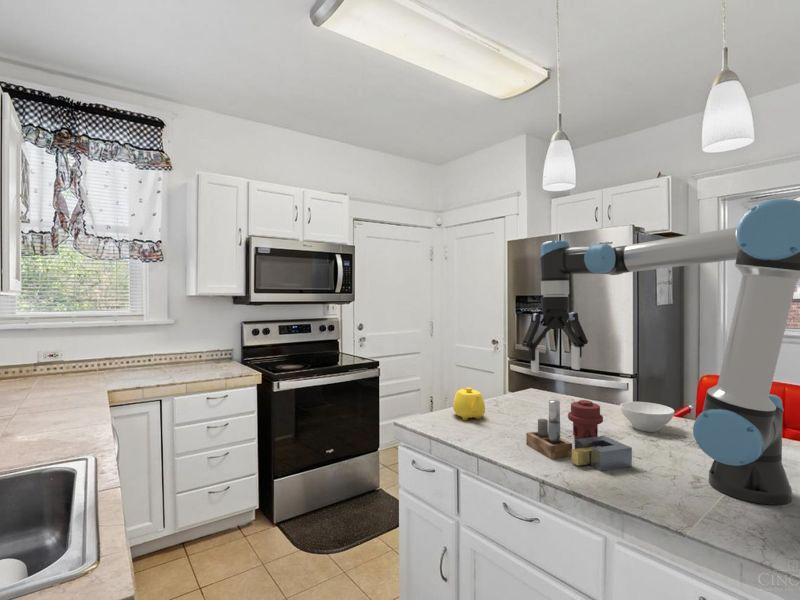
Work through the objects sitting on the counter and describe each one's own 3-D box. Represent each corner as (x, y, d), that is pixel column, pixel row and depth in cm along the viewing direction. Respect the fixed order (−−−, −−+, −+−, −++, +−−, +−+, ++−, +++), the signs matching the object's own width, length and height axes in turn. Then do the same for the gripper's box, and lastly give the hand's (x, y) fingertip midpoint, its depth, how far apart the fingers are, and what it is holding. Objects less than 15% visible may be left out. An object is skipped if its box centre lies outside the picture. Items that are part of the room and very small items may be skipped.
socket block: (631, 466, 116) (631, 447, 116) (600, 471, 113) (600, 451, 113) (603, 453, 126) (604, 435, 126) (574, 457, 123) (574, 439, 123)
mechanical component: (598, 436, 140) (606, 447, 130) (565, 434, 142) (570, 445, 132) (598, 398, 139) (606, 406, 130) (565, 396, 141) (571, 404, 132)
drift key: (599, 462, 118) (599, 449, 118) (577, 465, 116) (577, 452, 116) (593, 459, 120) (593, 446, 120) (571, 462, 118) (571, 449, 118)
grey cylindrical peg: (562, 454, 125) (562, 401, 125) (552, 455, 124) (553, 402, 124) (555, 450, 128) (555, 399, 128) (546, 451, 127) (546, 400, 127)
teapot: (494, 423, 155) (494, 393, 154) (464, 425, 152) (464, 394, 152) (474, 409, 172) (474, 382, 172) (447, 411, 170) (447, 384, 169)
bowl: (675, 439, 137) (675, 416, 137) (618, 431, 145) (618, 410, 145) (673, 425, 151) (673, 405, 151) (621, 418, 159) (621, 399, 159)
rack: (572, 455, 124) (572, 427, 124) (551, 458, 122) (551, 430, 122) (546, 441, 135) (546, 416, 135) (526, 444, 133) (526, 418, 133)
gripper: (582, 295, 132) (583, 365, 132) (509, 296, 125) (509, 371, 125) (600, 295, 125) (601, 369, 125) (523, 296, 118) (524, 375, 118)
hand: (555, 370), depth 125 cm, fingers open, 13 cm apart
